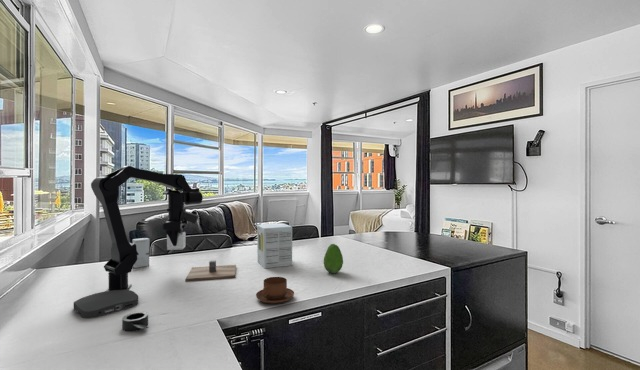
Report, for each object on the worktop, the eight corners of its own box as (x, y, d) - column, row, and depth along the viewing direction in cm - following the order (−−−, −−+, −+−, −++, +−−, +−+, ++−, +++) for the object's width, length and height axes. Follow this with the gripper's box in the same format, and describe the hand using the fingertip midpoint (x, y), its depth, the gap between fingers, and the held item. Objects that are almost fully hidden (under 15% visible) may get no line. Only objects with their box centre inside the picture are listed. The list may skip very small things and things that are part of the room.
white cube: (183, 249, 124) (182, 234, 124) (167, 250, 123) (166, 234, 123) (185, 246, 130) (185, 231, 130) (170, 247, 128) (170, 232, 128)
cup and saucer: (287, 308, 93) (287, 287, 93) (249, 305, 95) (249, 285, 95) (298, 294, 105) (298, 275, 105) (264, 291, 107) (264, 273, 107)
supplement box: (256, 261, 147) (256, 224, 147) (283, 258, 152) (283, 222, 152) (264, 268, 135) (263, 228, 135) (293, 265, 140) (292, 226, 140)
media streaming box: (124, 294, 105) (124, 285, 105) (142, 305, 96) (142, 295, 96) (70, 308, 94) (70, 298, 94) (84, 322, 84) (84, 311, 84)
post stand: (235, 277, 122) (235, 265, 122) (185, 281, 118) (185, 268, 118) (235, 267, 138) (235, 255, 137) (192, 269, 133) (192, 258, 133)
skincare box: (134, 268, 136) (134, 240, 135) (131, 266, 139) (131, 239, 139) (150, 265, 140) (150, 238, 140) (147, 263, 143) (147, 237, 143)
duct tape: (155, 317, 87) (155, 307, 87) (148, 334, 78) (148, 322, 78) (124, 321, 85) (124, 310, 85) (112, 338, 75) (112, 326, 75)
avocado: (335, 277, 123) (335, 246, 123) (320, 273, 128) (319, 244, 128) (346, 272, 129) (346, 243, 129) (331, 269, 134) (331, 241, 134)
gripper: (194, 207, 119) (194, 248, 119) (200, 203, 137) (200, 239, 137) (162, 207, 116) (162, 249, 116) (172, 204, 134) (173, 240, 134)
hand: (176, 244), depth 126 cm, fingers closed on white cube, 6 cm apart
